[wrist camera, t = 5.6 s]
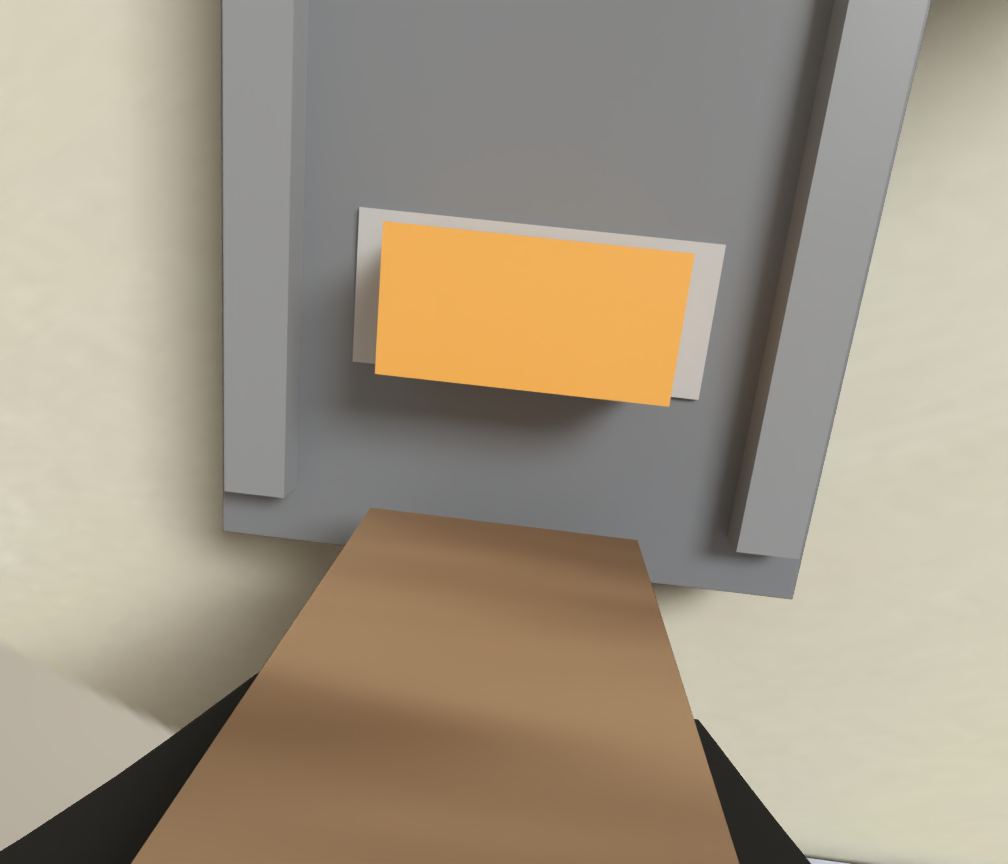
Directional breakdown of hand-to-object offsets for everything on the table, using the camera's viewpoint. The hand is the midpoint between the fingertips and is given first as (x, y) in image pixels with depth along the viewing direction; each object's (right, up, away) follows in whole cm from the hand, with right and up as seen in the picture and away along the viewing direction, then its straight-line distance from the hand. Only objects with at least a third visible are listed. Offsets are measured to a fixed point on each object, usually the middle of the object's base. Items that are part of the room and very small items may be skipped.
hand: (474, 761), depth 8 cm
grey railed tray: (+1, +9, +4) cm, 10 cm away
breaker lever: (+1, +6, +2) cm, 6 cm away
